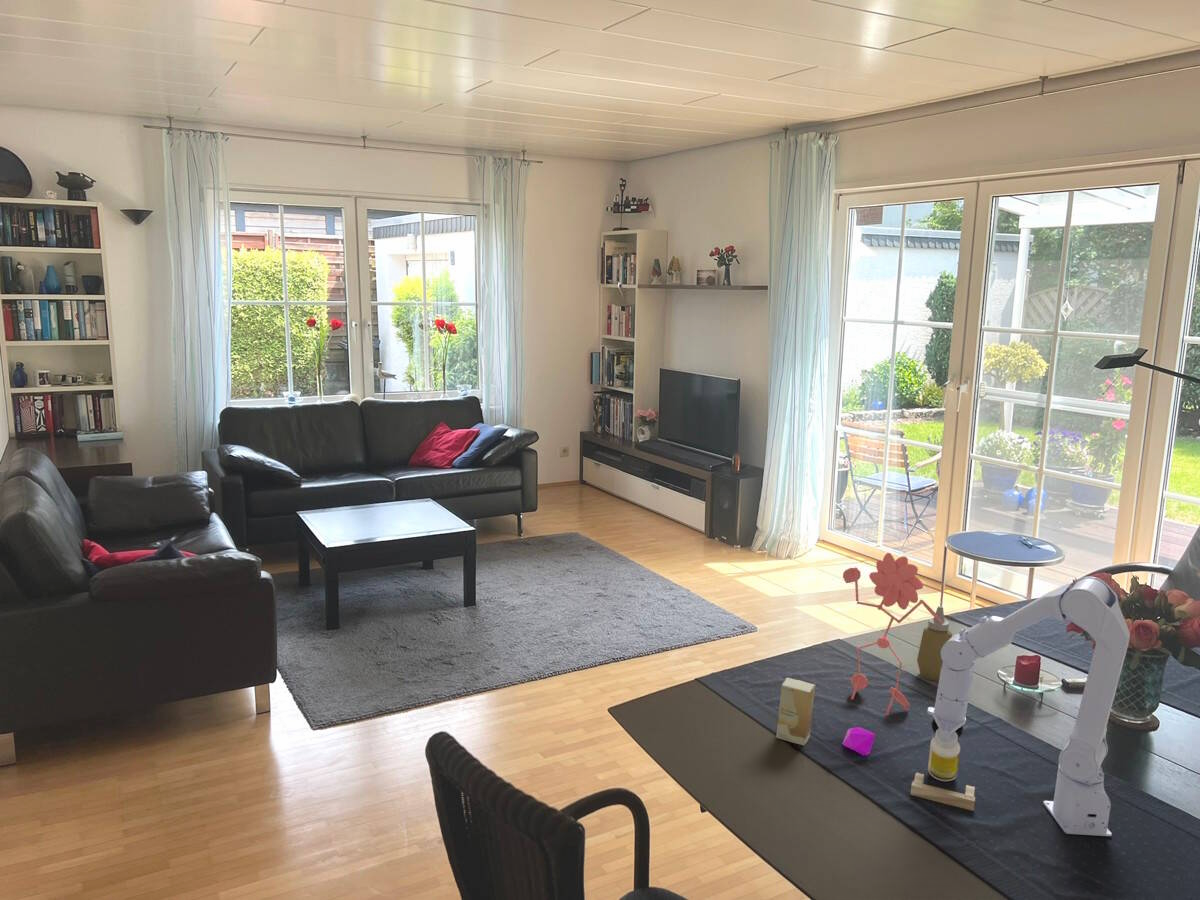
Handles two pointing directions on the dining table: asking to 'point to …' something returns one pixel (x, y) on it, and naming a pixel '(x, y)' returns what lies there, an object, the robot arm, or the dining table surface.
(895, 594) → the figurine
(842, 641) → the dining table surface
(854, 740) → the crystal
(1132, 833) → the dining table surface
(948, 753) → the supplement bottle
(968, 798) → the u rest
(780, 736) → the skincare box
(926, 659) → the squeeze bottle
